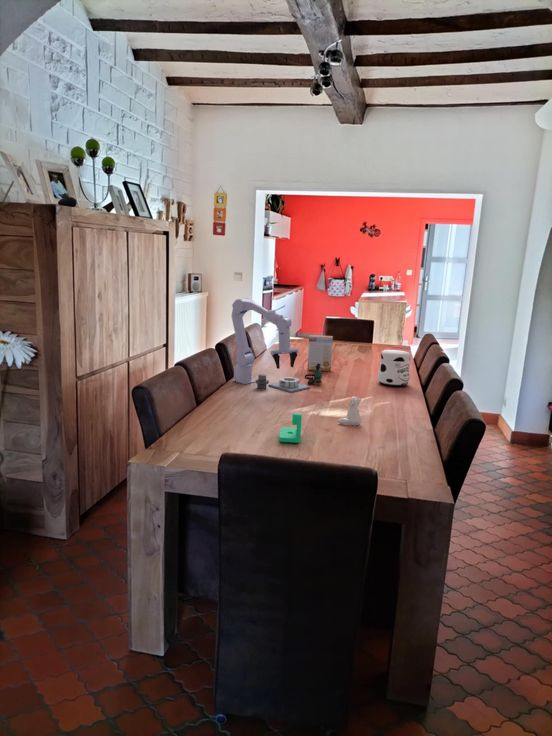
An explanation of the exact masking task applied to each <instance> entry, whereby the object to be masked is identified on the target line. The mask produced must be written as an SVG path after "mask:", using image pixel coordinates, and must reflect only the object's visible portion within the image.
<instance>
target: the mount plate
mask: <svg viewBox="0 0 552 736" xmlns="http://www.w3.org/2000/svg"><path fill="white" fill-rule="evenodd" d="M270 386H271V387H270ZM268 387H270V388H273V387H274V388H273V389H277V388H278V389H277V390H280V389H281V390H282V391H285V392H287V391H288V393H291V394H292V393H297V392H301V391H303V390H304V389H305V390H308V388H309V389H310V386H308V385H305V384H301V383H299V386H298V387H296V388H285V387H281V386H280V385H279V381H278V382H273V383H268ZM300 390H301V391H300ZM305 390H304V391H305Z"/></svg>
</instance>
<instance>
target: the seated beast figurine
mask: <svg viewBox="0 0 552 736" xmlns="http://www.w3.org/2000/svg"><path fill="white" fill-rule="evenodd" d="M361 401H362V398H361V397H360V398H359V397H357V396H352V397H351V399H350V400H349V403H348V406H349V407H348V409H347V413H346V416H345V417H341V418H339V419H338V420H337V423H340V424H339V425H341V424H346V425H345V426H351V425H354V426H353V427H355V426H356V427H357V426H360V425H361V423H362V420H363V419H362V416H361V414H360V410H359V407H358V406H359V405H360V403H361Z"/></svg>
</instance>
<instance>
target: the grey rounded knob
mask: <svg viewBox="0 0 552 736" xmlns="http://www.w3.org/2000/svg"><path fill="white" fill-rule="evenodd" d="M254 381H255V382H254V383H255V384H256V389H257V390H260V389H264V390H267V385H269V384H270V383H269V382H270V381H269V380H268V379H267V374H265V373H263V374H262V373H260V374H258V377H257V379H255V380H254Z"/></svg>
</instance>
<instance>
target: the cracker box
mask: <svg viewBox="0 0 552 736" xmlns="http://www.w3.org/2000/svg"><path fill="white" fill-rule="evenodd" d="M333 337H334V336H333V335H318V334H316V335H315V334H309V337H308V351H307V355H308V356H307V371H310V370H316V367H315V366H317V364H320V368H321V372H327V371H332V359H333V357H332V355H333Z"/></svg>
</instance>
